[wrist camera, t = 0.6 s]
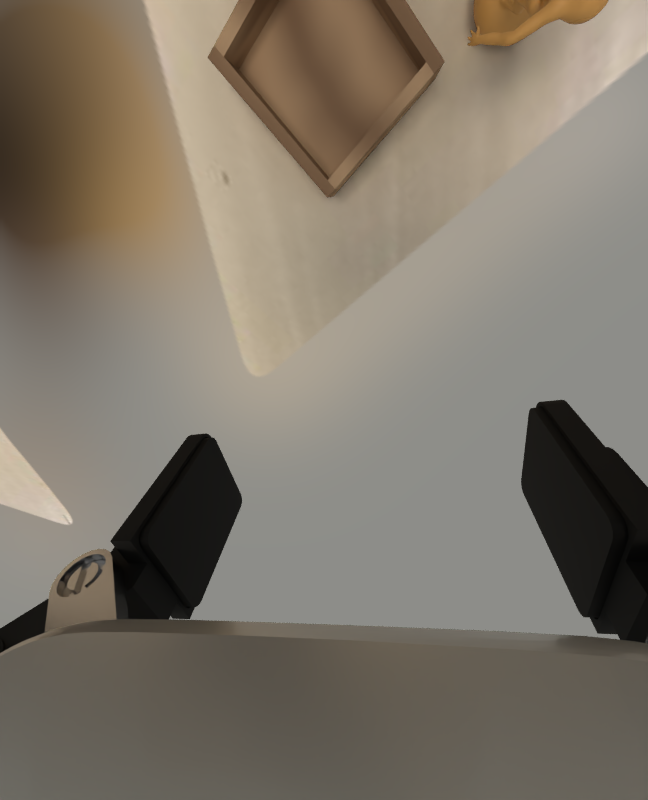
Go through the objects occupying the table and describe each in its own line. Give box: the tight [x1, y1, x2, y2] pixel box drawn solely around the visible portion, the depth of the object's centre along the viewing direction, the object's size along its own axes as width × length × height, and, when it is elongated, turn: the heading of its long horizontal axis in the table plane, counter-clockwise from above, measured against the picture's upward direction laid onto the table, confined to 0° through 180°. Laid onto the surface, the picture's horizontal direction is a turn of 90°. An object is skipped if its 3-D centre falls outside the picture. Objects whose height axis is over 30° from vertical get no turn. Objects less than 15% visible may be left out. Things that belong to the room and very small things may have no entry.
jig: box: [208, 0, 444, 197], centre depth 24 cm, size 11×12×4 cm
